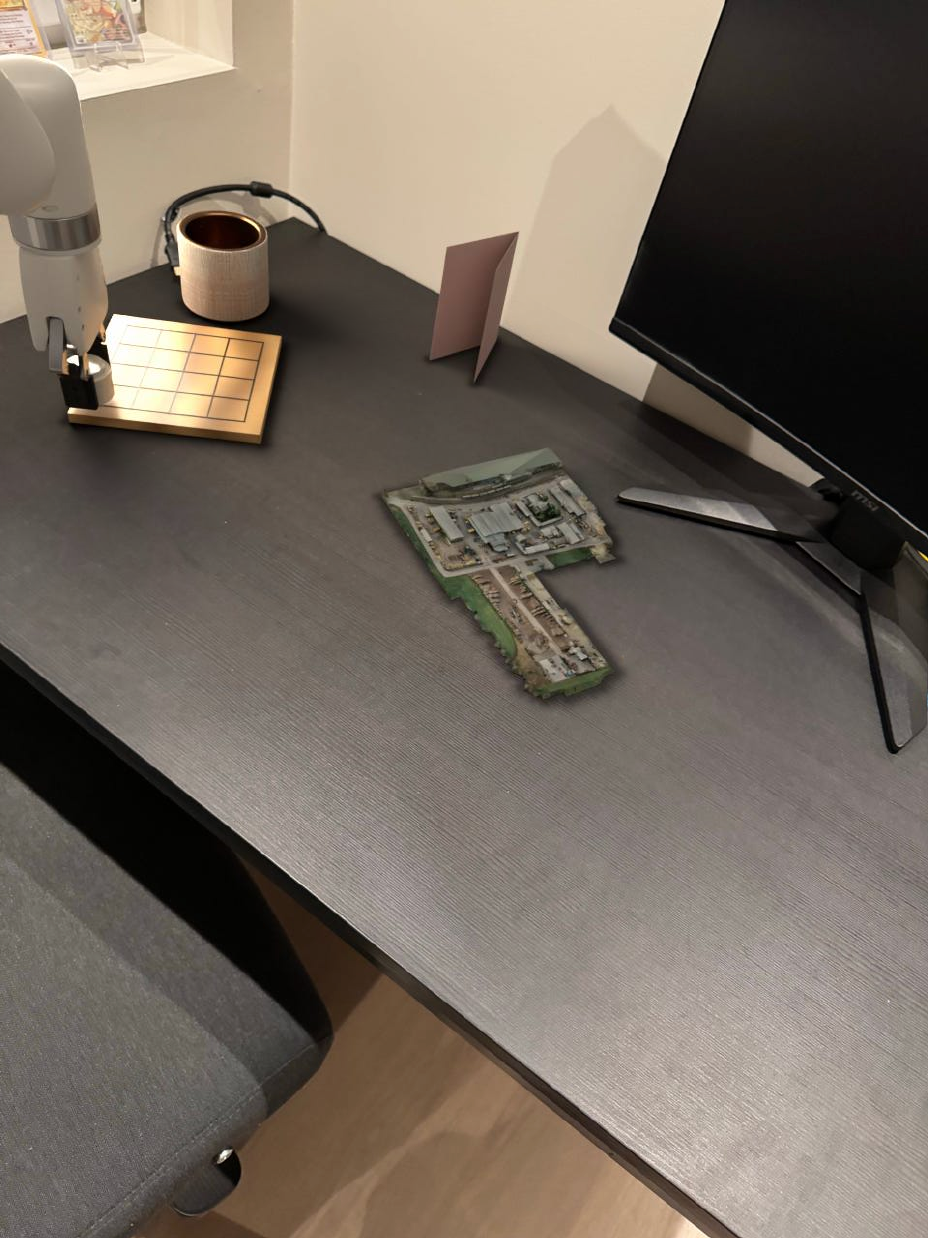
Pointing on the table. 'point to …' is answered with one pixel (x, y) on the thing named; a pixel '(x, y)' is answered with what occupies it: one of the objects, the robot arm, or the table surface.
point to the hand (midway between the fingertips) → (89, 389)
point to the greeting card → (473, 296)
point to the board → (187, 380)
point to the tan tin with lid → (99, 377)
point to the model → (511, 558)
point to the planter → (223, 265)
